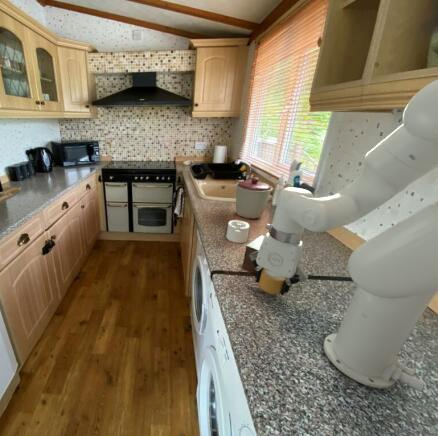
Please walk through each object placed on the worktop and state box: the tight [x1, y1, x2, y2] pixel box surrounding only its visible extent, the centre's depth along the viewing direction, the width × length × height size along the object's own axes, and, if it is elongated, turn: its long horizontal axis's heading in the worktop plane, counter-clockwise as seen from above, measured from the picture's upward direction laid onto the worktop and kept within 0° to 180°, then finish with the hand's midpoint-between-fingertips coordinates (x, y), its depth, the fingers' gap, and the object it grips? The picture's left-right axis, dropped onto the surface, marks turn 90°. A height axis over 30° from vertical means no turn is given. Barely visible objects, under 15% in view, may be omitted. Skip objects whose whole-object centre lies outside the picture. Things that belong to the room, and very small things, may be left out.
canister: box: [235, 176, 274, 220], centre depth 129 cm, size 18×18×21 cm
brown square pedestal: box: [241, 234, 265, 274], centre depth 85 cm, size 14×12×9 cm
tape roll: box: [258, 268, 286, 295], centre depth 72 cm, size 7×7×5 cm
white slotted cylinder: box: [225, 219, 251, 244], centre depth 112 cm, size 20×9×7 cm, turn 157°
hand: (270, 286), depth 72 cm, fingers closed on tape roll, 6 cm apart
